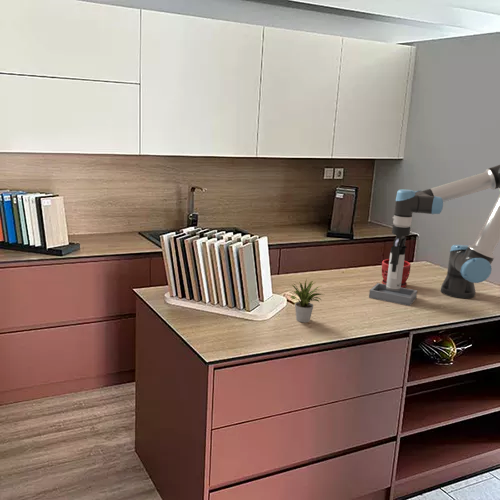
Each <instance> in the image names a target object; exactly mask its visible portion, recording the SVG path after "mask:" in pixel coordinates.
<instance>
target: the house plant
mask: <svg viewBox="0 0 500 500" xmlns="http://www.w3.org/2000/svg"><path fill="white" fill-rule="evenodd" d="M307 280H308V279H307V278H306V279H305V281H304V285H303V284H302V283H301V282H300V281H299V283H298V286H299V287H300V290H299V288H298V287H297V285H296V284H297V282H296V281H295V282H294V283H293V284H291V285H290V286H291V287H292V288H294V289H295V291H294V293H295V294H296V295H297V296H298V297H296V296H295V295H291V296H290V298H289V299H291V300H297V302H295V303H294V308H295V309H294V310H295V320H296V322H299V323H309V322H310V321H311V317H312V313H313V310H314V304H313V303H312V302H313V301H316V302H318V303H320V301H321V302H322V298H320V297H317V296H325V294H322V293H317V292H318V288H320V287H322V285H319V286H316V288H314V289H313V290H311V288H312V286H313V285H315V282H314V280H311V281H310V282H309V283H308V285H307V282H308V281H307ZM295 283H296V284H295ZM310 290H311V291H310ZM319 300H320V301H319Z"/></svg>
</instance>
